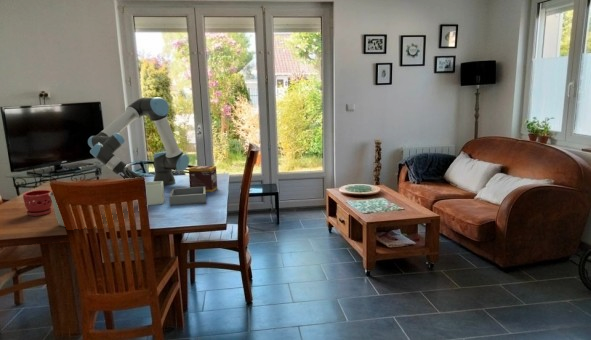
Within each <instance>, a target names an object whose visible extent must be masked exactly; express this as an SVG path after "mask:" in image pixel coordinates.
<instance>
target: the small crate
mask: <svg viewBox="0 0 591 340" xmlns="http://www.w3.org/2000/svg"><path fill="white" fill-rule="evenodd" d="M145 182H146V194H147V201H148V205H147V206H155V205H164V202H165V190H164V189H165V187H164V186H165V185H163V181H155V182H153V181H145Z"/></svg>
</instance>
